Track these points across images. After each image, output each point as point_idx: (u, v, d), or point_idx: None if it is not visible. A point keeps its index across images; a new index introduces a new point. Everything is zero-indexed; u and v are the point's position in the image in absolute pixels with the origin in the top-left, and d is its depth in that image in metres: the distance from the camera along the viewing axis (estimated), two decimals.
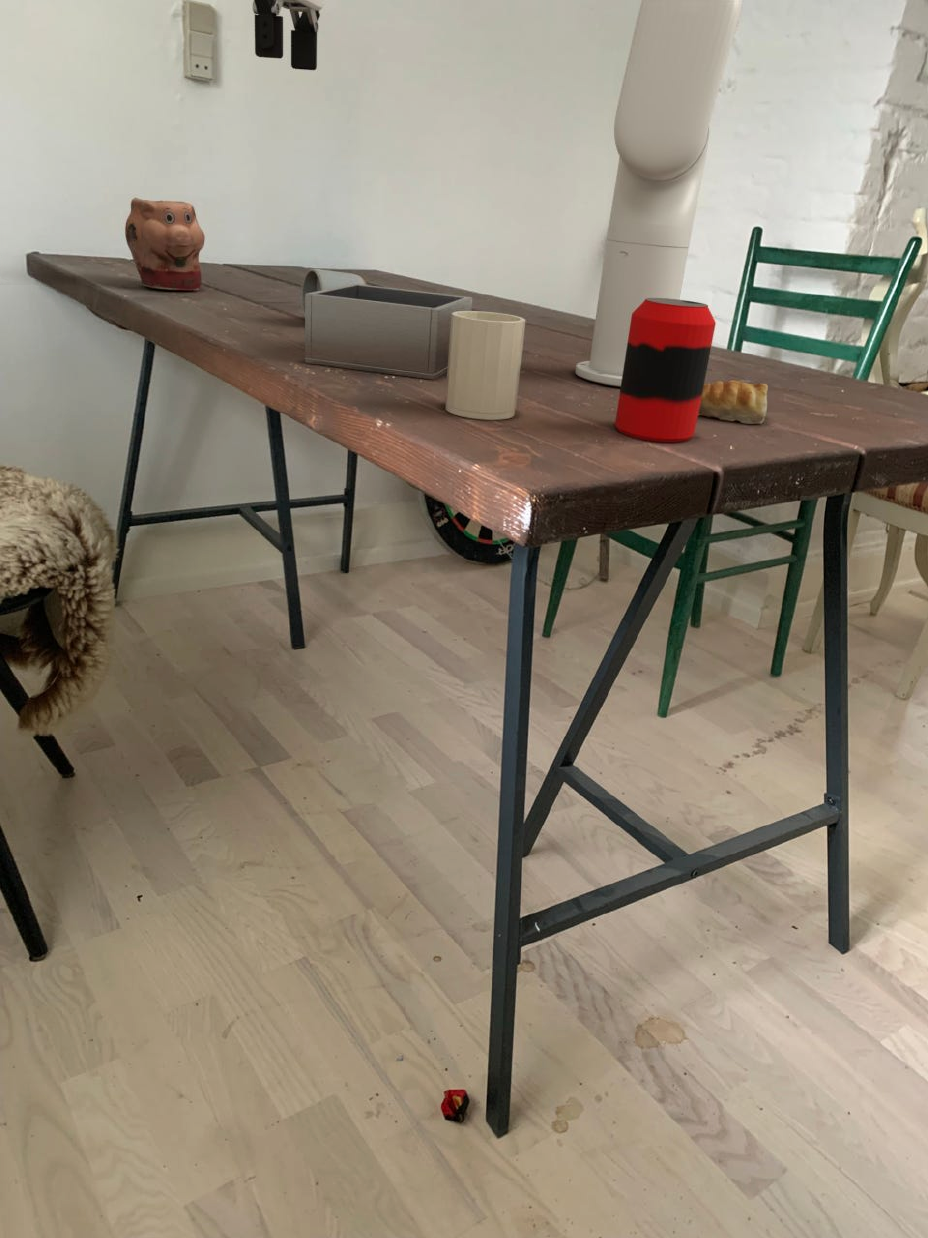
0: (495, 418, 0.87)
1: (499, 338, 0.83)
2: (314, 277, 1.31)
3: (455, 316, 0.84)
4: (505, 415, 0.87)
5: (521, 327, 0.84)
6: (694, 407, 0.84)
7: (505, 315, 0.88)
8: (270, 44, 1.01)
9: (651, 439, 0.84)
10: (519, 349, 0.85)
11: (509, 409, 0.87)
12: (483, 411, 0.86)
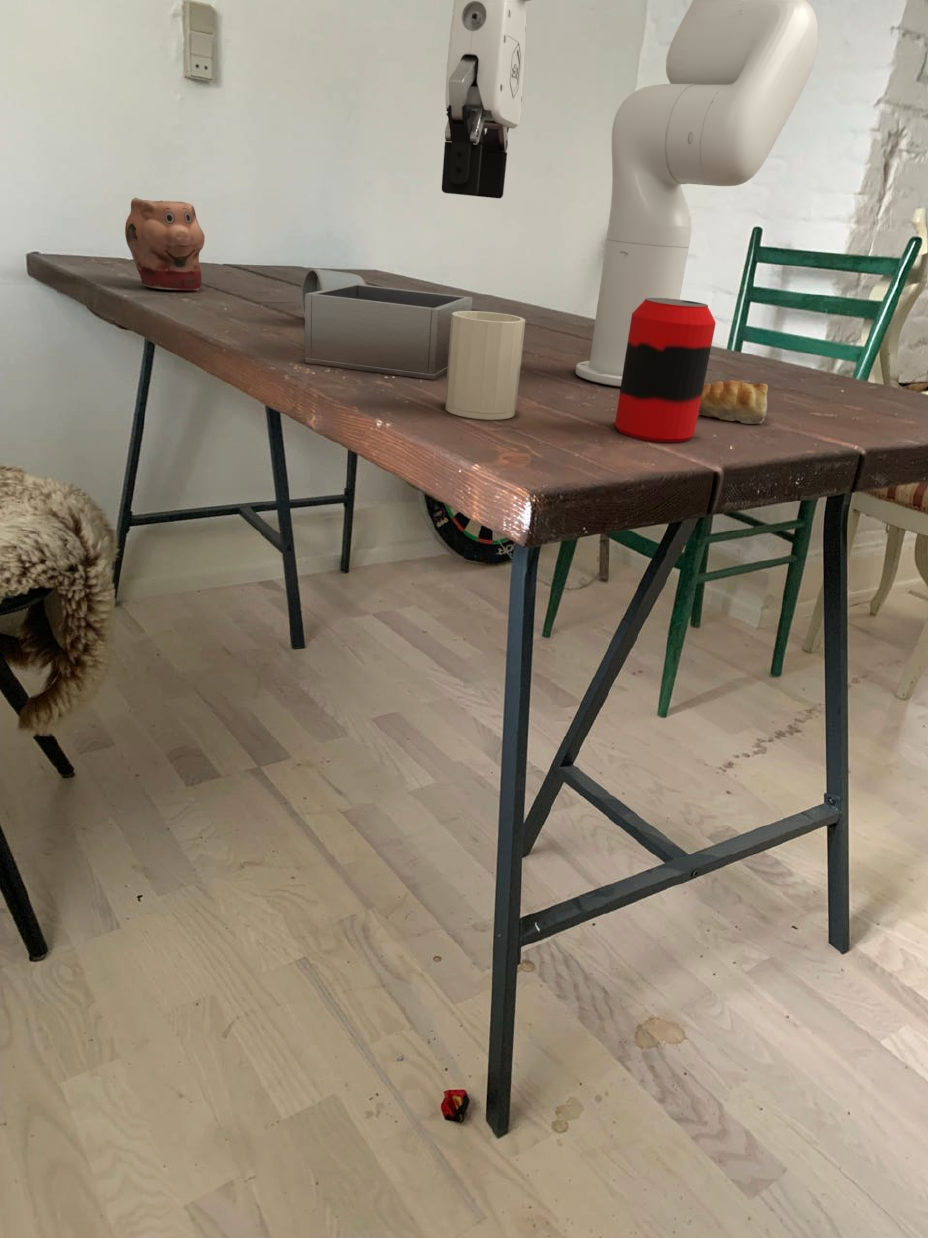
0: (495, 418, 0.87)
1: (499, 338, 0.83)
2: (314, 277, 1.31)
3: (455, 316, 0.84)
4: (505, 415, 0.87)
5: (521, 327, 0.84)
6: (694, 407, 0.84)
7: (505, 315, 0.88)
8: (464, 180, 0.78)
9: (651, 439, 0.84)
10: (519, 349, 0.85)
11: (509, 409, 0.87)
12: (483, 411, 0.86)
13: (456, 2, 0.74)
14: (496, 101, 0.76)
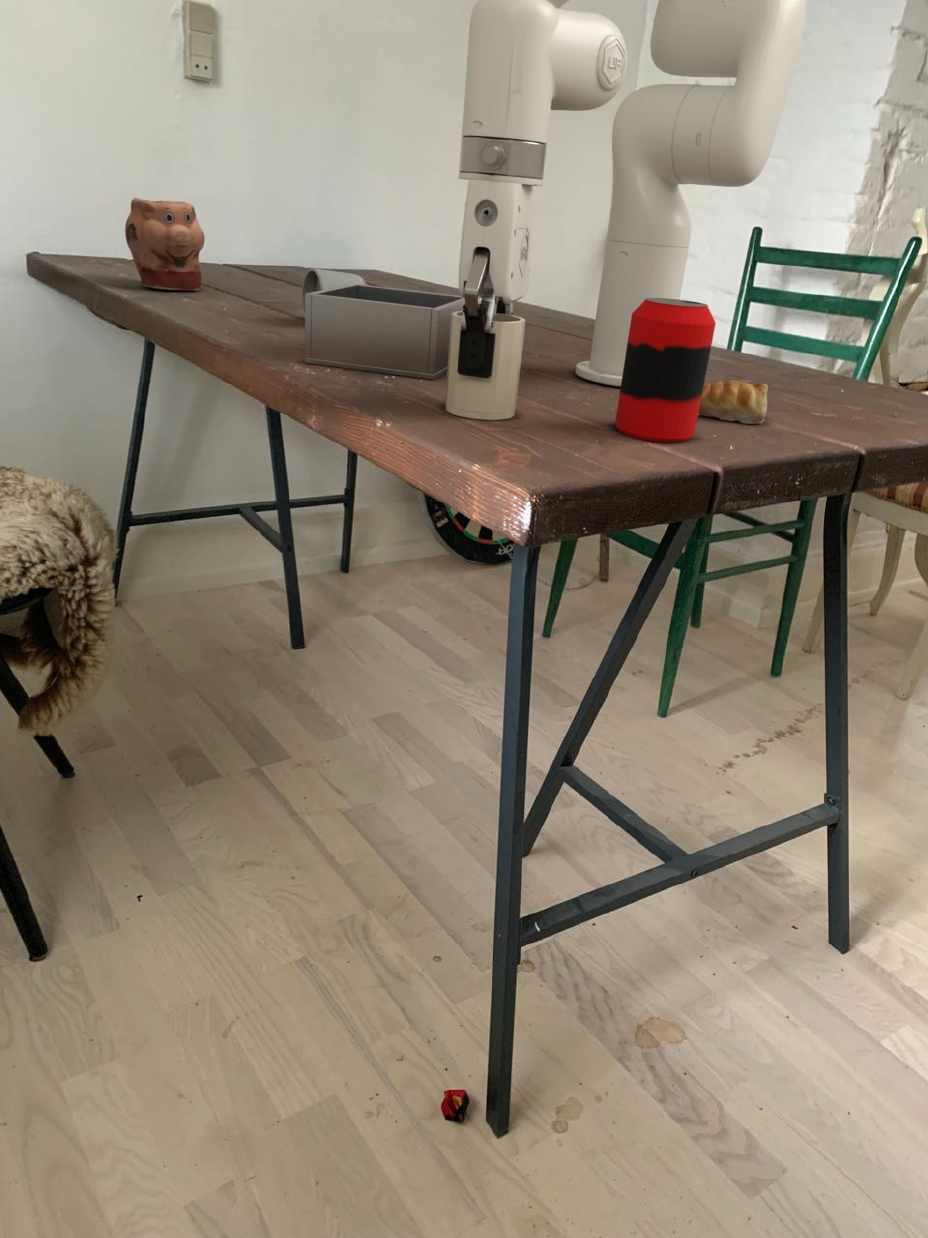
0: (495, 418, 0.87)
1: (499, 338, 0.83)
2: (314, 277, 1.31)
3: (455, 316, 0.84)
4: (505, 415, 0.87)
5: (521, 327, 0.84)
6: (694, 406, 0.84)
7: (505, 315, 0.88)
8: (479, 366, 0.83)
9: (651, 439, 0.84)
10: (519, 349, 0.85)
11: (509, 409, 0.87)
12: (483, 411, 0.86)
13: (468, 199, 0.78)
14: (507, 289, 0.80)
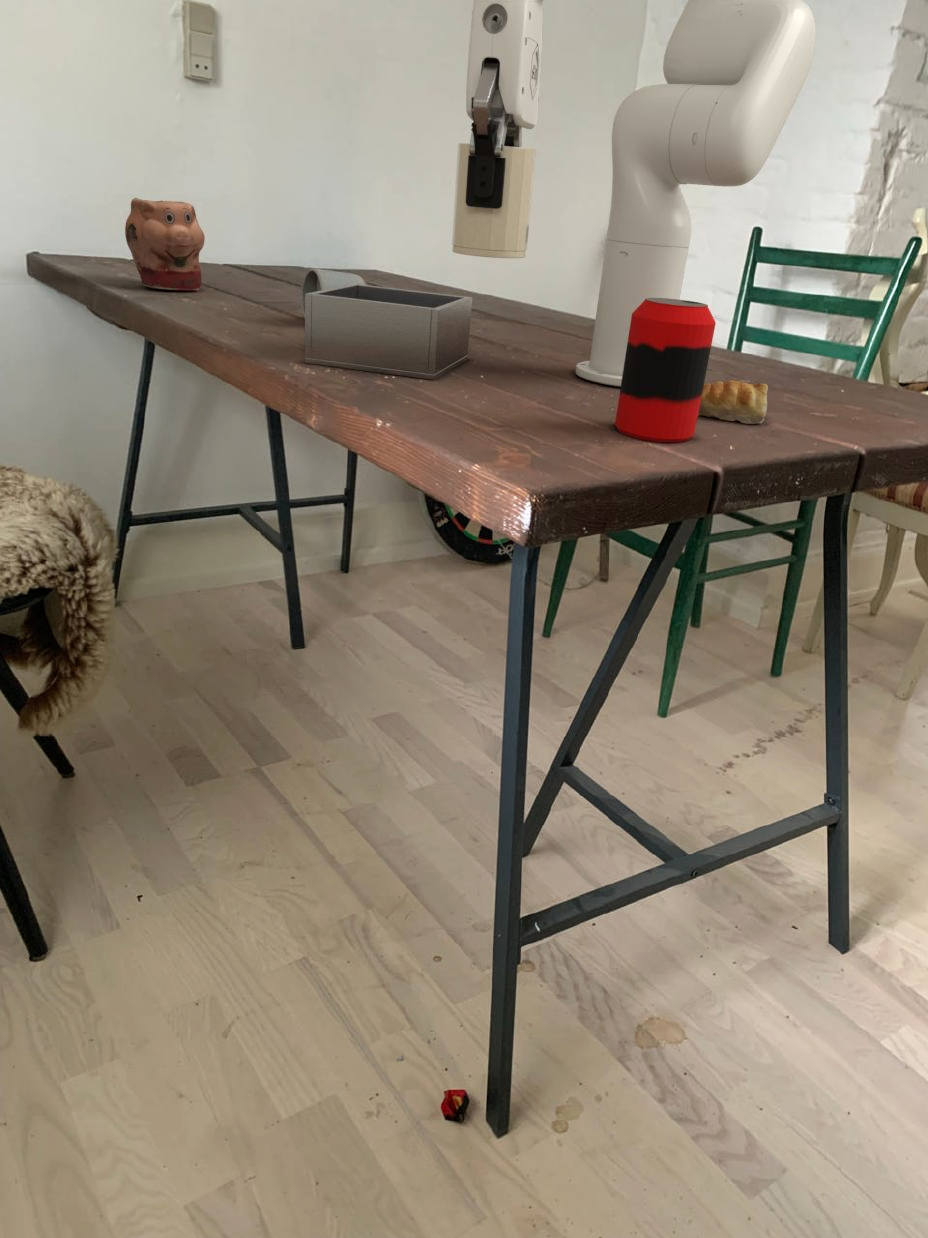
0: (505, 256, 0.82)
1: (509, 165, 0.79)
2: (314, 277, 1.31)
3: (462, 144, 0.80)
4: (516, 254, 0.83)
5: (532, 155, 0.80)
6: (694, 406, 0.84)
7: None
8: (489, 193, 0.78)
9: (651, 439, 0.84)
10: (530, 180, 0.81)
11: (520, 247, 0.83)
12: (493, 248, 0.82)
13: (475, 5, 0.73)
14: (518, 104, 0.75)
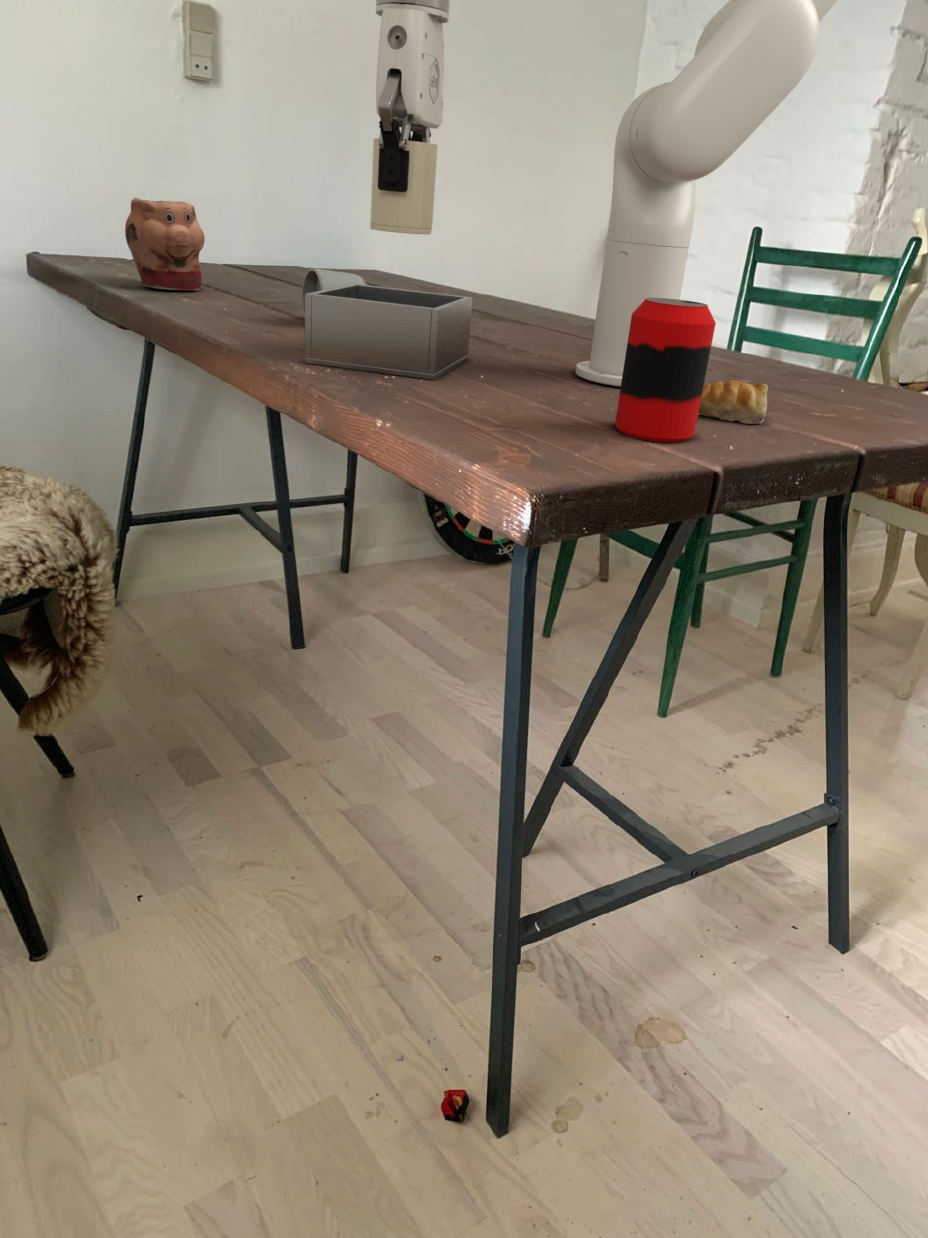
0: (412, 232, 0.99)
1: (413, 156, 0.96)
2: (314, 277, 1.31)
3: (375, 139, 0.97)
4: (421, 230, 1.00)
5: (433, 149, 0.97)
6: (694, 406, 0.84)
7: None
8: (395, 179, 0.96)
9: (651, 439, 0.84)
10: (432, 170, 0.98)
11: (424, 225, 1.00)
12: (401, 225, 0.99)
13: (382, 26, 0.91)
14: (417, 107, 0.92)
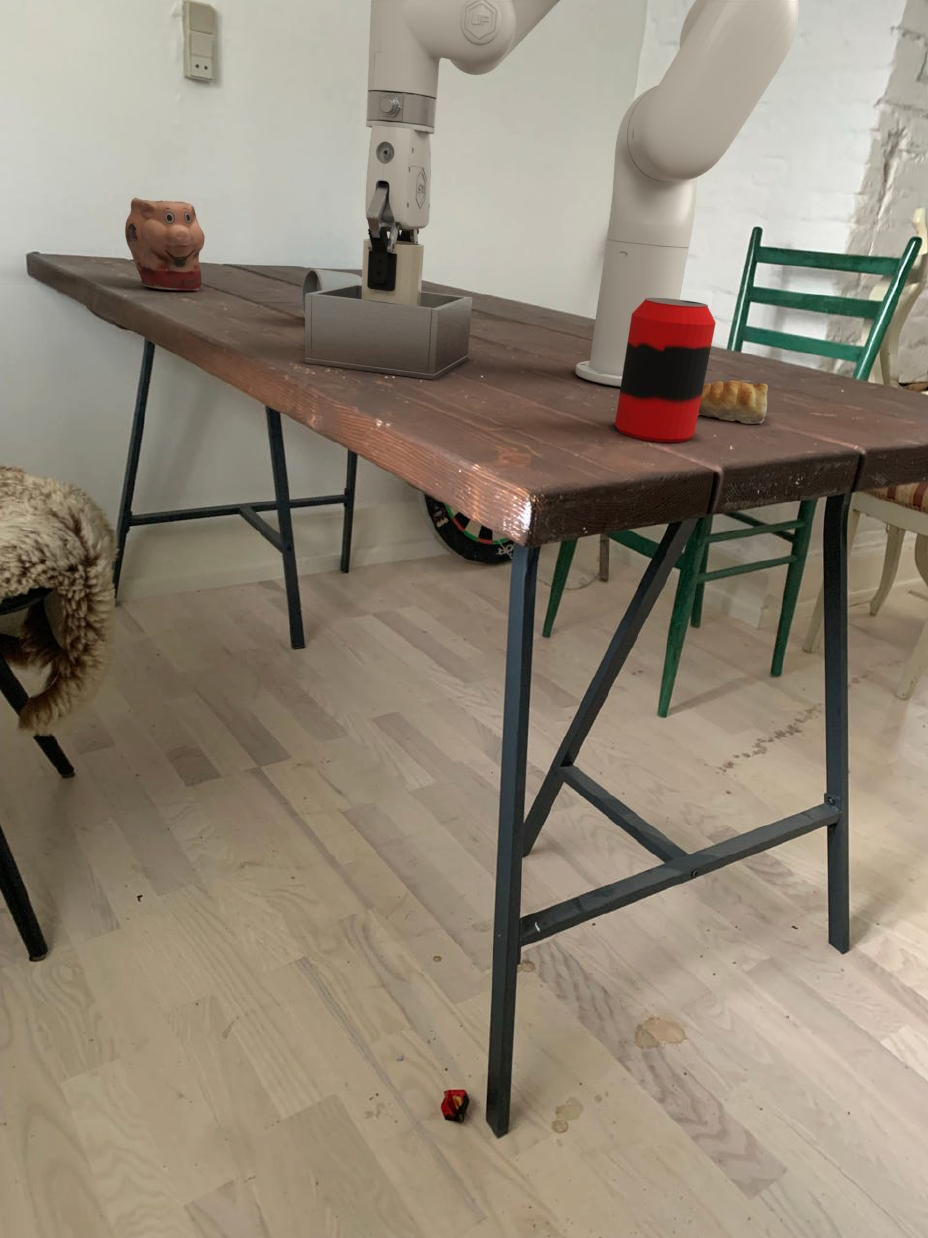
0: None
1: (400, 258, 1.02)
2: (314, 277, 1.31)
3: (365, 240, 1.03)
4: None
5: (419, 250, 1.03)
6: (694, 406, 0.84)
7: (409, 243, 1.07)
8: (383, 280, 1.02)
9: (651, 439, 0.84)
10: (418, 269, 1.04)
11: None
12: None
13: (371, 141, 0.97)
14: (404, 215, 0.98)
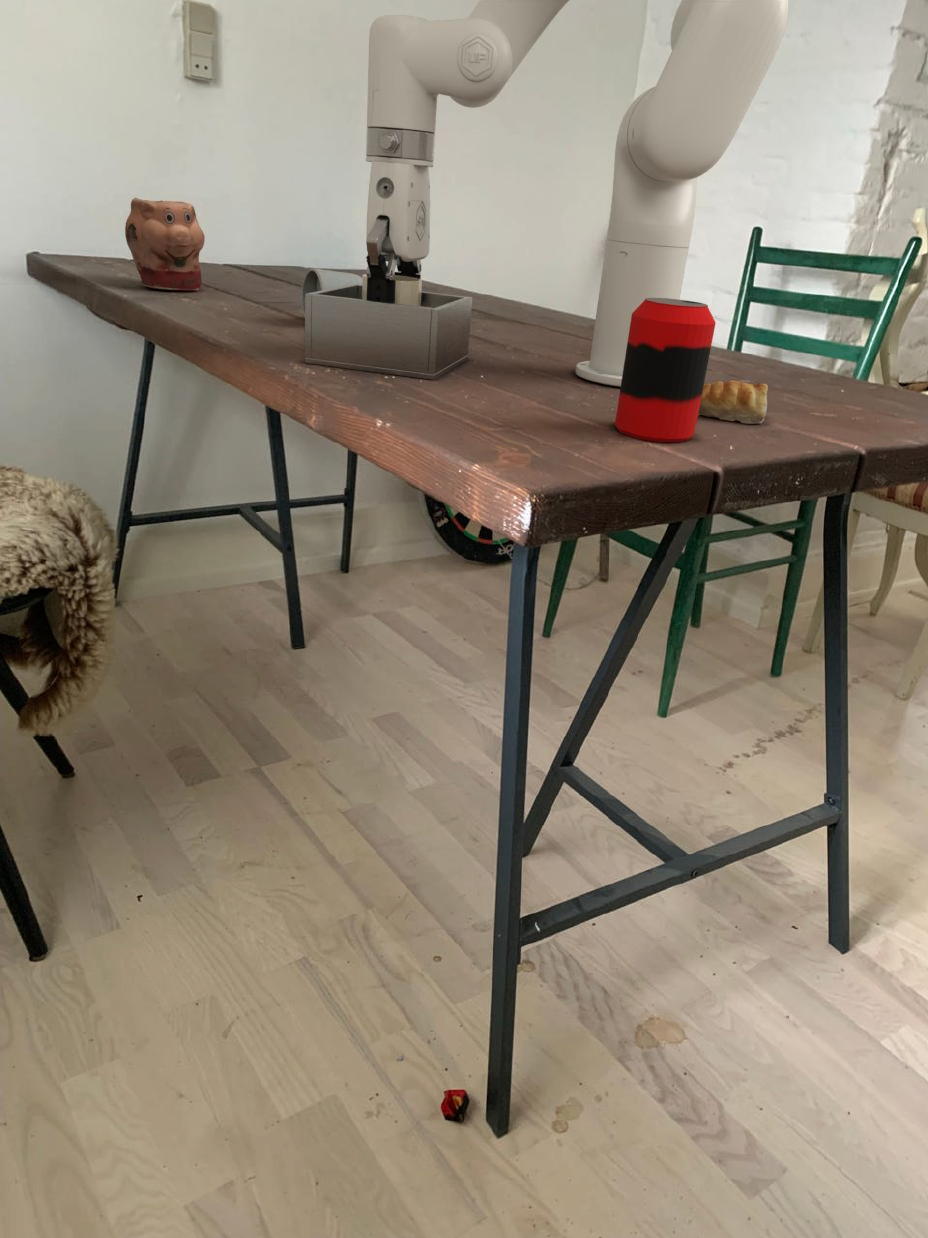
0: None
1: (398, 294, 1.04)
2: (314, 277, 1.31)
3: (364, 276, 1.05)
4: None
5: (417, 285, 1.05)
6: (694, 406, 0.84)
7: (408, 277, 1.08)
8: None
9: (651, 439, 0.84)
10: (417, 304, 1.06)
11: None
12: None
13: (371, 177, 0.98)
14: (404, 249, 1.00)
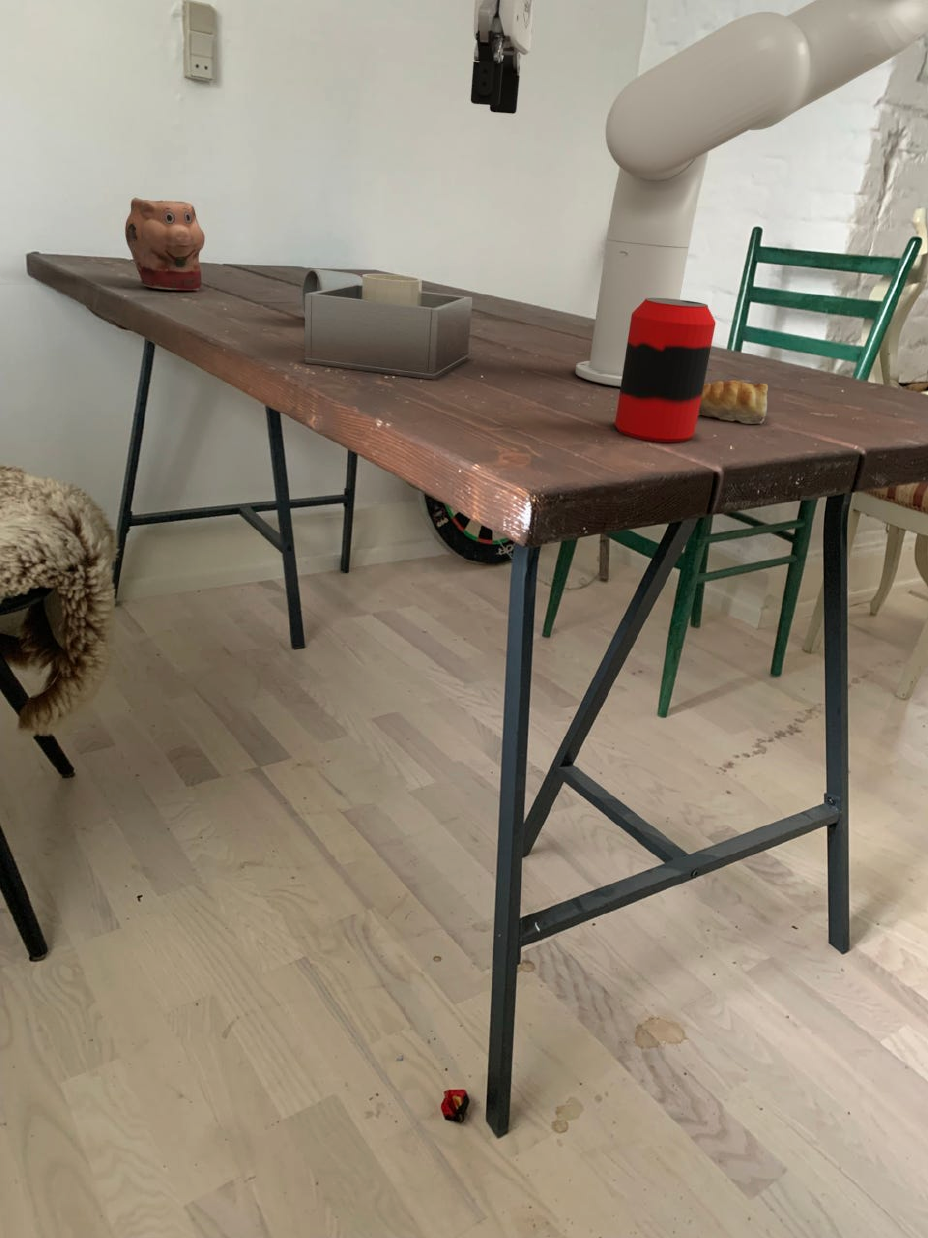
0: None
1: (398, 294, 1.04)
2: (314, 277, 1.31)
3: (364, 276, 1.05)
4: None
5: (417, 285, 1.05)
6: (694, 406, 0.84)
7: (408, 277, 1.08)
8: (489, 91, 1.00)
9: (651, 439, 0.84)
10: (417, 304, 1.06)
11: None
12: None
13: None
14: (513, 28, 0.98)
